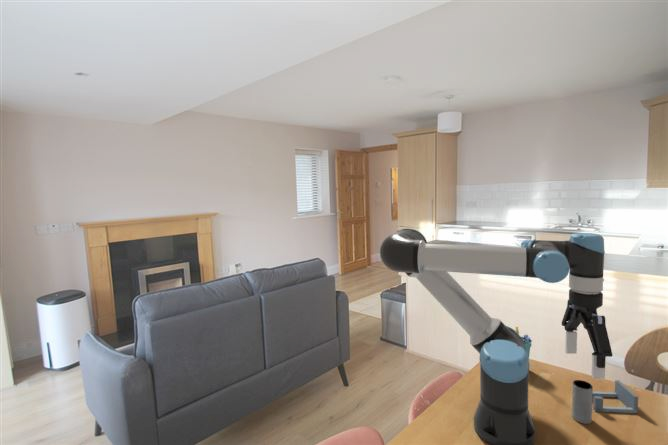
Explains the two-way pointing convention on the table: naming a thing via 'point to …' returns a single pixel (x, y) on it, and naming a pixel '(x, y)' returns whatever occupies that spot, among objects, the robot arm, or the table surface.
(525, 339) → the cup
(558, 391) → the table surface
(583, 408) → the grey tube
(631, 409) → the endcap rail
